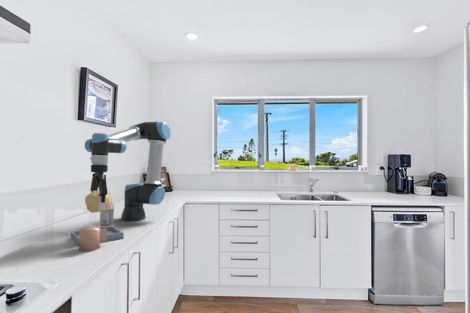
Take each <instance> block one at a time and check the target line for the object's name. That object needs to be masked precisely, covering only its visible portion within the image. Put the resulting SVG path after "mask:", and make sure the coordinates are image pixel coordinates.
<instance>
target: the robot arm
mask: <svg viewBox="0 0 470 313" xmlns="http://www.w3.org/2000/svg"><path fill="white" fill-rule="evenodd" d="M170 137H171V128H170V126H169V124H168V123H167V122H165V121H145V122H141V123H137V124H134V125H131V126H129V128H126V129H123V130H120V131H117V132H114V133H110V134H108V133H102V132H94V133H93V134H92V136H91V138H89V139H87V140H86V141H85V142H84V149H85V151H86V152H87V153H91V155H90V156H91V157H90V158H89V159H90V162H91V163H90V164H91V165H90V172H91V173H92V178H91V184H90V193H91V192H92V191H98V190H99V192H100V194H99V210H100V209H105V203H106V195H107V194H108V186H107V175H106V174H104V173H107V172H108V164H109V154H123V153H125V152H126V150H127V143H128V142H130V141H138V140H139V141H140V140H147V142H148V144H149V148H148V149H149V151H148V160H147V169H146V177H145V178H146V180H145V181H144V182H142V183H140V182H138V183H130V184H126V185H125V186H124V208H123V209H122V212H121V215H120V219H121V221H126V222H136V221H142V220H145V219H146V211H145V208H144V205H151V206H152V205H157V206H158V205H159V204H161V203H162V202H163V201H164V199H165V196H166V190H165V188H164V187H163V183H162V182H161V173H162V165H163V164H162V163H163V153H164V145H165V144H166V143H167V141H168V140H169V139H170Z"/></svg>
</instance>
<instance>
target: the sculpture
mask: <svg viewBox="0 0 470 313" xmlns="http://www.w3.org/2000/svg"><path fill="white" fill-rule="evenodd" d="M99 194H100V192H99V189H98V191H92V192H91V191H90V192H89V194H87V195H86V196H85V197H84V198H85V199H84V200H85V201H84V204H85V206H86V210H87V211H88V212H90V213H100V212H102V211H108V210H109V209H110V208H111V205H112V203H113V199H112V197H111V194H110V195H109V194H107V195H106V203H105V209H100V210H99Z"/></svg>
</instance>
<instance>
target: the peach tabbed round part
mask: <svg viewBox="0 0 470 313" xmlns="http://www.w3.org/2000/svg"><path fill="white" fill-rule="evenodd" d="M79 231H80V239H79V246H78V250H79V252H92V251H93V252H94V251H96V250H99V249H100V244H101V242H100V241H106V234H107V229H102V230H100V225H99V226H98V225H89V226H83V227H81V228H80V227H79ZM106 242H107V241H106Z"/></svg>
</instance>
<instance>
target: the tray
mask: <svg viewBox="0 0 470 313" xmlns="http://www.w3.org/2000/svg"><path fill="white" fill-rule="evenodd" d="M102 229H107V234H106V241H100V243H105V242H110V241H117V240H122V239H124V236H125V235H124V231H122V230H121V229H118V228H117V227H116V226H114V225H113V226H109V227H102V228H100V230H102ZM70 239H71V240H72V241H73V242H74V243H75V244H76V245H77V246H78V247H79V239H80V230H75V231H70Z"/></svg>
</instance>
